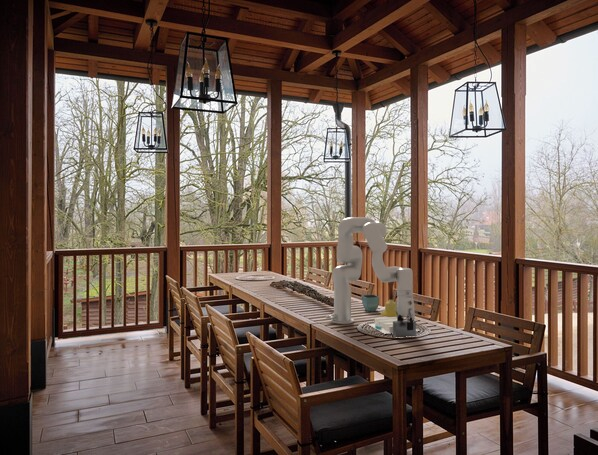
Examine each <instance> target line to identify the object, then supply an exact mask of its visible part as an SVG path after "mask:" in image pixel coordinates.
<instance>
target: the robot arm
mask: <svg viewBox="0 0 598 455" xmlns="http://www.w3.org/2000/svg"><path fill="white" fill-rule="evenodd" d="M337 227H338V228H337V233H338V234H337V236H338V237H337V247H336V261H337V262H338V263H340V264H343V265H338V266H336V267H334V268H333V269H332V272H331V276H332V281H333V312H332V314H327V315H325V319H327V320H328V319H329V320H330V321H331V323H334V324H340V325H349V324H353V323H354V321H355V319H354V318H352V288H351V286H350V284H349V283H350V282H354V281H357V280H359V279H360V277H361V274H362V266H363V256H364V255H363V252H362V249H361V247H359V246H357V245H354V236H353V234H356V233H357V234H358V233H362V235H363V237H364V239H365V241H366V242H367V245H368V247H369V249H370V251H371V253H372V254H371V267H372V270H373V271H374V273H375V275H376V277H377V279H378V280H379V281H380V282H381V283H385V284H388V282H394V283H395V282H396V285H397V286H396V296H397V298H396V305H397V307H396V313H397V321H404V318H406V320H407V321H408V322H407V330H413V322H414V321H415V318H416V313H415V301H414V292H413V291H414V289H413V288H414V283H413V282H414V280H413V275H414V273H413V270H412V268H409V267H400V266H395V265H394V266H386V264H385V263H384V259H383V255H384V253H385V252H386V251H387V249H388V244H387V242H386V240H385V239H384V237H385V236H386V235H387V232H388V231H387V227H386V225H385V224H384V223H383V222H381V221H378V220H376V219H373V218H369V217H365V216H357V217H356V216H352V217H351V216H350V217H346V218H343V219H342V220H341V221H340V222H339V224H338V226H337Z"/></svg>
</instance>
